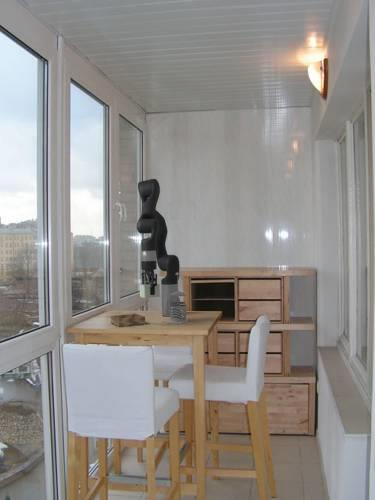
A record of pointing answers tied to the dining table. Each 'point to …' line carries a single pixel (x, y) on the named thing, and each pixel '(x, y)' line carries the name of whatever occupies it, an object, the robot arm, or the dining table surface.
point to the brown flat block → (127, 320)
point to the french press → (178, 317)
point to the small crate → (146, 291)
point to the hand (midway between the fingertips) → (149, 294)
